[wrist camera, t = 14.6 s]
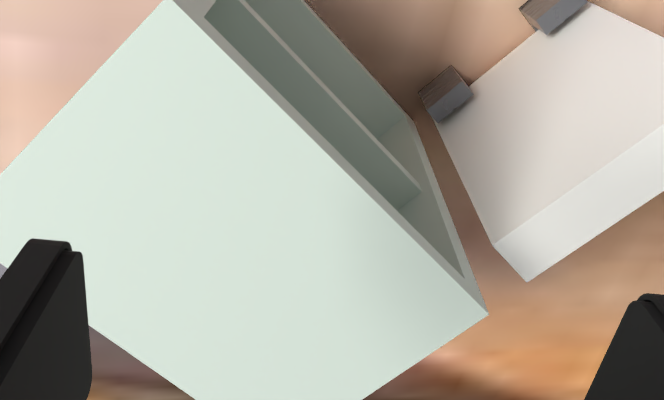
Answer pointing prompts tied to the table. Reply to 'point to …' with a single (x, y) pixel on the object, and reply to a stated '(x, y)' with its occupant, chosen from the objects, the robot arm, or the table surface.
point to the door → (562, 137)
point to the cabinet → (247, 208)
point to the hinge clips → (451, 90)
